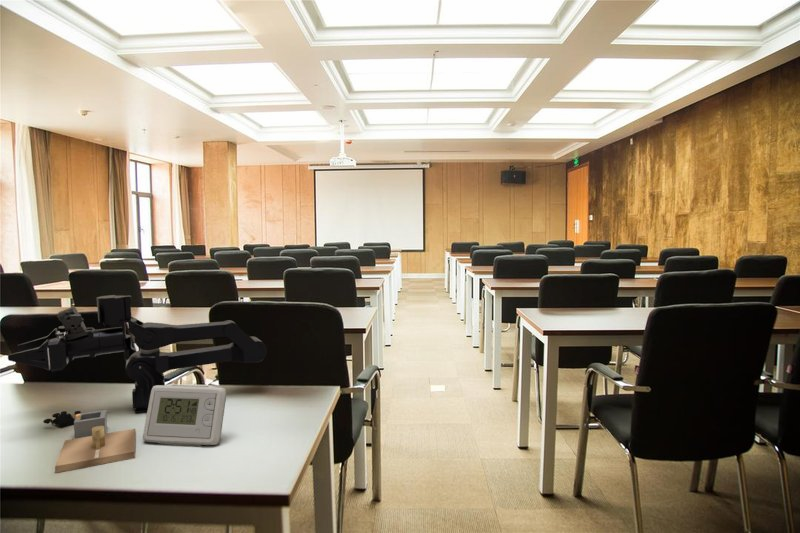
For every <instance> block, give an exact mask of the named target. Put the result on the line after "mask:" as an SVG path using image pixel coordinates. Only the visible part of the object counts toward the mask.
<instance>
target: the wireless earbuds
mask: <svg viewBox="0 0 800 533" xmlns="http://www.w3.org/2000/svg"><path fill="white" fill-rule="evenodd" d="M81 413H82V412H81V411H80V410H75V411H74V416H76V415H77V414H81ZM51 417H52V418H54V419H52V418H45V419H43V423H44V424H50V423H51V425H52V426H56V425H57V427H58V428H60V429H61V428H62V429H63V428H66V427H69V426H74V421H75V418H74V417H73V416H72V414H71V413H68V412H67V411H66V410H65V411H60V412H56V413H53V414H51Z"/></svg>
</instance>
